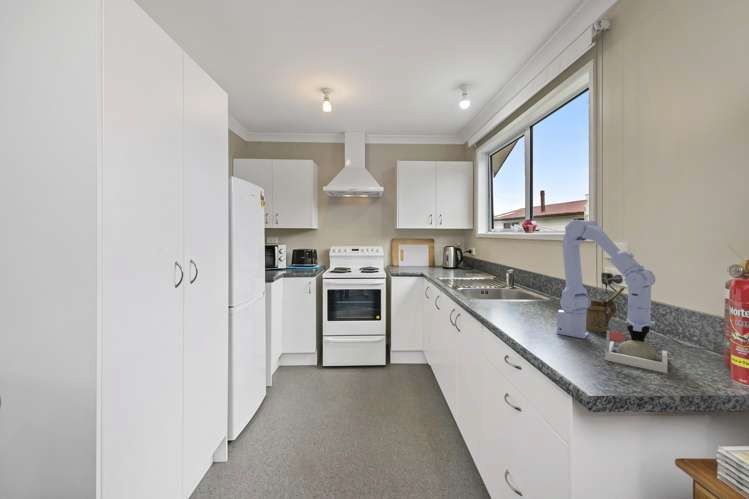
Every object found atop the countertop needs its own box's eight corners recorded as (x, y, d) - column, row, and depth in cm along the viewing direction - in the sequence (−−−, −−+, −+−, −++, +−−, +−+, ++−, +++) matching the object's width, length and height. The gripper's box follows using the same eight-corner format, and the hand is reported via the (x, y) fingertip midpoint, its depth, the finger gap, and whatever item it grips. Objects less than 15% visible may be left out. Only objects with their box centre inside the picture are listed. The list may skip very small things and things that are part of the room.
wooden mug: (622, 335, 121) (624, 289, 120) (580, 329, 129) (582, 285, 128) (622, 330, 128) (624, 286, 127) (582, 324, 136) (584, 283, 135)
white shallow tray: (605, 360, 97) (606, 331, 97) (610, 348, 107) (611, 322, 107) (667, 373, 88) (668, 341, 88) (666, 359, 98) (667, 330, 98)
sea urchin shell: (667, 357, 94) (645, 337, 95) (644, 374, 95) (623, 354, 96) (648, 347, 103) (628, 329, 104) (627, 362, 104) (608, 344, 105)
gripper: (655, 313, 95) (653, 357, 96) (655, 305, 106) (653, 345, 106) (625, 309, 100) (623, 351, 100) (628, 302, 111) (627, 340, 111)
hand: (637, 348), depth 104 cm, fingers closed
